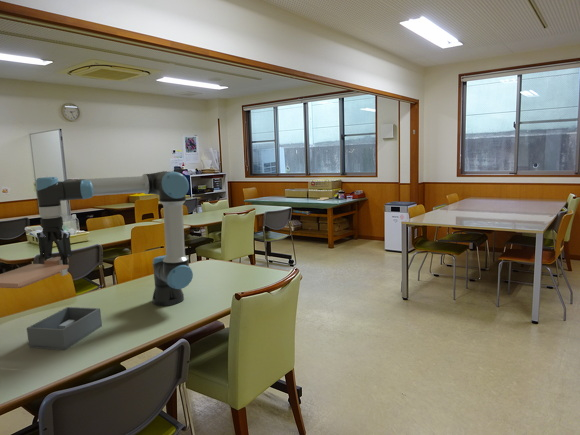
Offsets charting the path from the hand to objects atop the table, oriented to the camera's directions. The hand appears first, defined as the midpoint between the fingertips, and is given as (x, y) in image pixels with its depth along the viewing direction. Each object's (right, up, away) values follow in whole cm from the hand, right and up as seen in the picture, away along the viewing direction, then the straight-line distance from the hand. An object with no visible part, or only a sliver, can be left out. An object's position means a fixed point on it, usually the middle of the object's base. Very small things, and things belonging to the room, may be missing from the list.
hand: (58, 274), depth 164 cm
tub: (+1, -26, +5) cm, 26 cm away
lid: (-2, +1, -12) cm, 12 cm away
